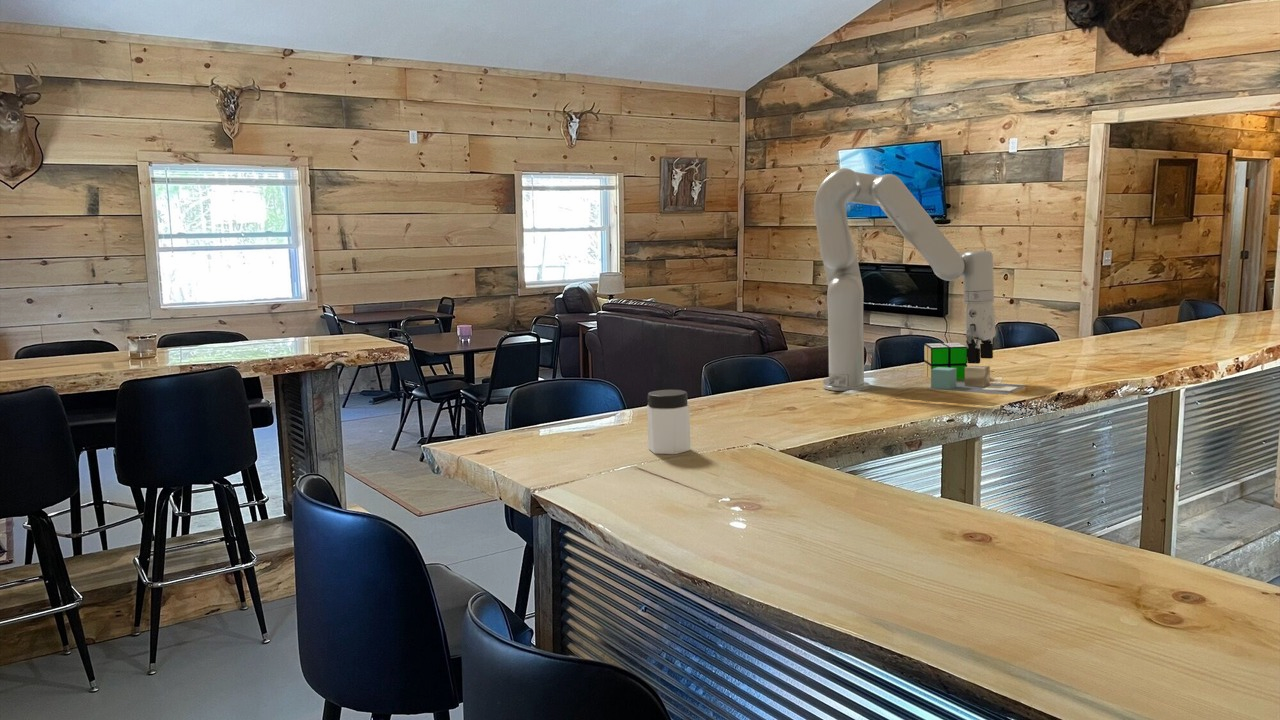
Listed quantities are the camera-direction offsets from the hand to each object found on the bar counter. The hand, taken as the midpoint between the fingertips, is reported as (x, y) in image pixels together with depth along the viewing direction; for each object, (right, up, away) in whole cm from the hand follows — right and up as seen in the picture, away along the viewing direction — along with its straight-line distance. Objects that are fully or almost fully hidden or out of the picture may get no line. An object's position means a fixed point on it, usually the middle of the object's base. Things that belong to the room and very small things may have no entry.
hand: (980, 360), depth 248 cm
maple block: (-1, -7, +1) cm, 7 cm away
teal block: (-10, -7, 0) cm, 12 cm away
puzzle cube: (-4, -6, +18) cm, 19 cm away
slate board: (-2, -8, -2) cm, 8 cm away
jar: (-85, -19, -58) cm, 105 cm away
